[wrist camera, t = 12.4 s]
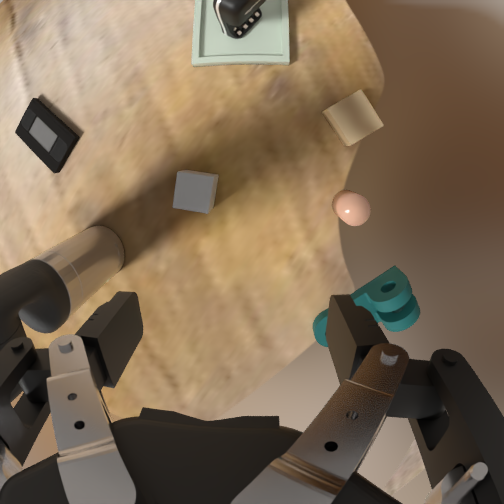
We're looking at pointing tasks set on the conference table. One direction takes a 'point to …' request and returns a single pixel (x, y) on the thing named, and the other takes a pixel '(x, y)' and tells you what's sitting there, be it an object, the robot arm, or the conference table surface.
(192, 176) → the grey box
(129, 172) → the conference table surface
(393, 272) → the bracket
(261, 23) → the tray
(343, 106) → the oak block
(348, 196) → the pink glossy rounded part
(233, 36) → the battery charger
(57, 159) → the vhs tape
